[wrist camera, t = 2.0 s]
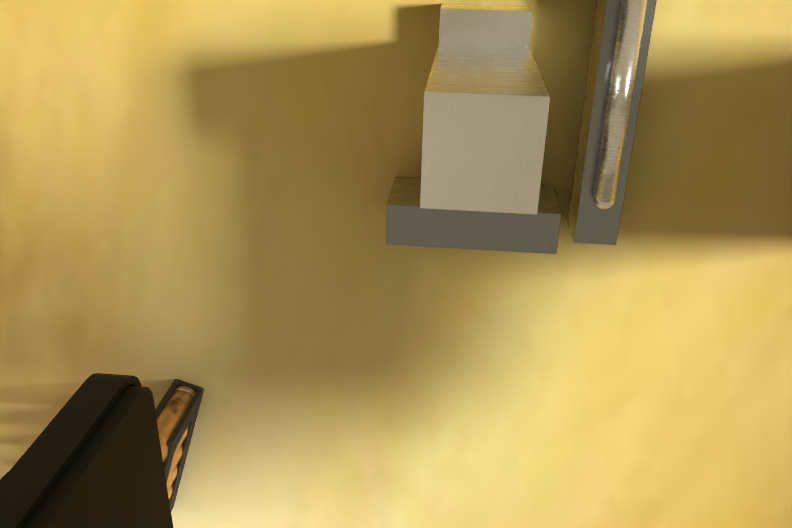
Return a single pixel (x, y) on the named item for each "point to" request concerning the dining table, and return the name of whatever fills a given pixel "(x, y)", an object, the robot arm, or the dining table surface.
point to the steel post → (484, 113)
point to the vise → (595, 165)
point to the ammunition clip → (177, 430)
